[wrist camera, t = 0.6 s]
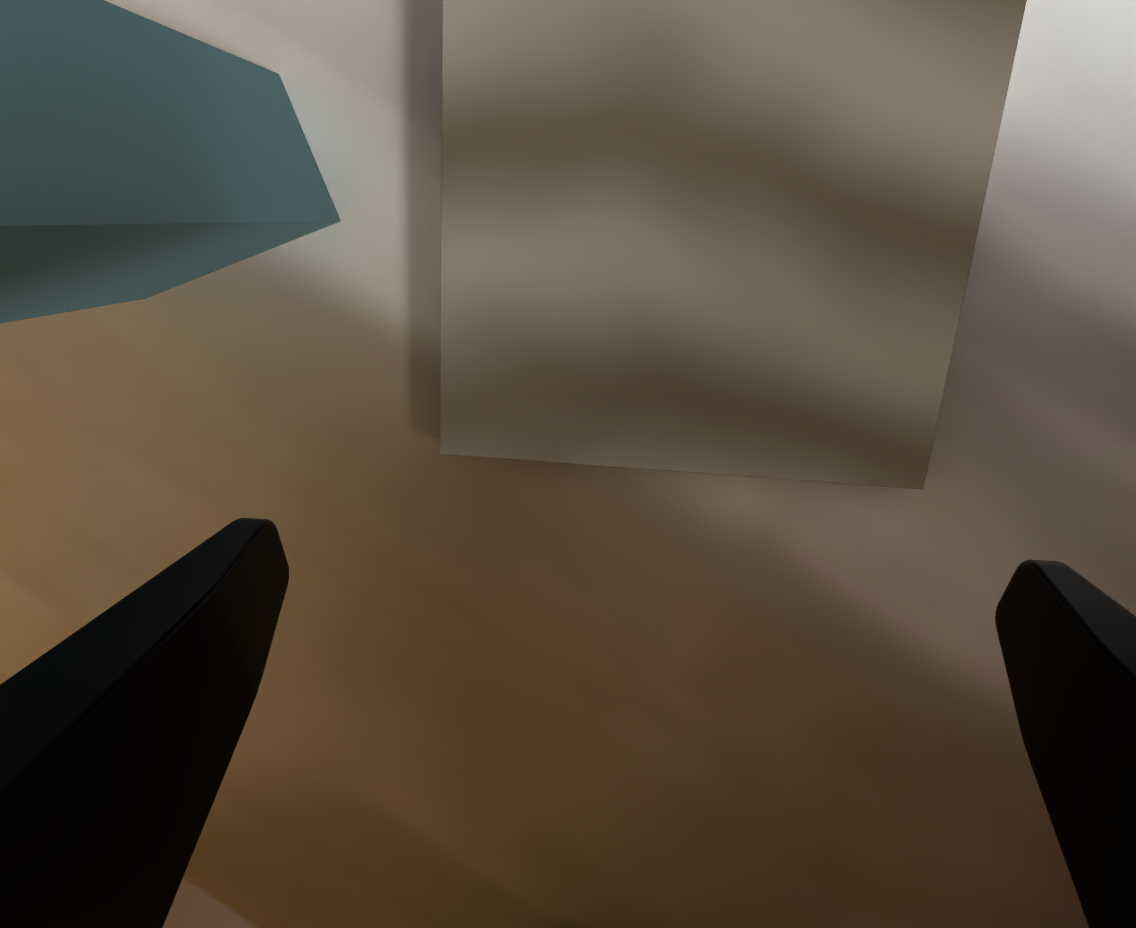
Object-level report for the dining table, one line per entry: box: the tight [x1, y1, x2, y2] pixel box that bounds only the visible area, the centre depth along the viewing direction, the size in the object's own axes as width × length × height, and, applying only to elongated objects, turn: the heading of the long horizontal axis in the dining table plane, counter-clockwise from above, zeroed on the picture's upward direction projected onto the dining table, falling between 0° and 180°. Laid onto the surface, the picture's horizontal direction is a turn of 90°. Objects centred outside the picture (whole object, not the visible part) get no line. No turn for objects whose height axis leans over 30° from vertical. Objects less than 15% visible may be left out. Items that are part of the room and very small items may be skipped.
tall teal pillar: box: [0, 0, 340, 323], centre depth 16 cm, size 4×6×13 cm, turn 110°
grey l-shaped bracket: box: [440, 0, 1026, 489], centre depth 16 cm, size 16×14×11 cm
